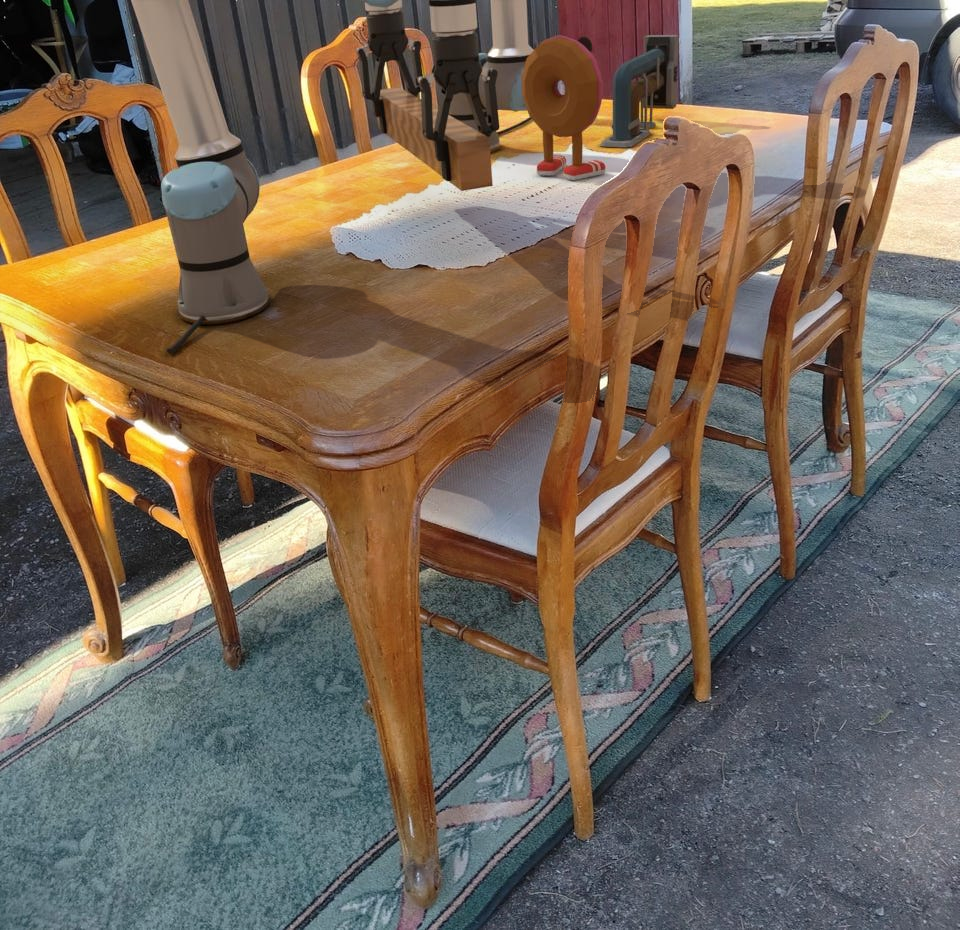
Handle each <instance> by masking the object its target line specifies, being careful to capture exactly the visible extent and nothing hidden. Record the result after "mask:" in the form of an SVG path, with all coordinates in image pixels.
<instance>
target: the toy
mask: <svg viewBox="0 0 960 930" xmlns="http://www.w3.org/2000/svg"><path fill="white" fill-rule="evenodd" d="M533 50H534V51H533V52H532V53H531V54H530V55H529V56H528V58H527V59H526V63H525V66H524V69H523V73H522V76H521V82H522V98H523V101H524V103H525V106H526V108H527V111H526V112H527V113H528V116H529V117H531V121H533V122H534V124H536V125H537V127H538V128H539V129H540V130H541V131H542V148H543V149H542V150H543V151H542V152H543V159H542V161H540V162H539V163H538V164H537V165H536V174H537V175H538V176H555V175H556V174H557V173H559V172H560V171H561V170H563V177H564V178H565V179H567V180H570V181H578V180H581V179H586V178H591V177H595V176H600V175H603V174H605V173H606V163H605V162H604V161H601V160H597V159H594V160H589V161H584V162H583V147H584V146H583V132H585V130H587V129H588V128H589V127H590V126H592V125H593V124H594V122H595V121H596V119H597V118H598V114H599V111H600V108H601V106H602V101H603V90H604V89H603V87H604V83H603V78H602V74H601V70H600V67H599V65H598V61H597V59H596V58H595V56H594V54H593V53H592V52H593V44H592V41H591V39H589V37H587V36H582V37H580V38H579V39H577V40H576V39H574V38H570V37H568V36H566V35H561V34H558V35H555V36H551V37H549V38H547V39H544V40H543V41H541V42H540V43H539V44H538V45H537V46H536V47H535V48H534V49H533ZM560 80H561V81H562V82H563V83H564V86H565V94H564V95H562V94H561V91H560V90H559V83H560ZM554 137H558V138H570V137H571V143H572V145H571V156H572V157H571V159H572V160H571V161H572V164H570V165H567V158H566V156H565V155H560V154H554Z"/></svg>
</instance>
